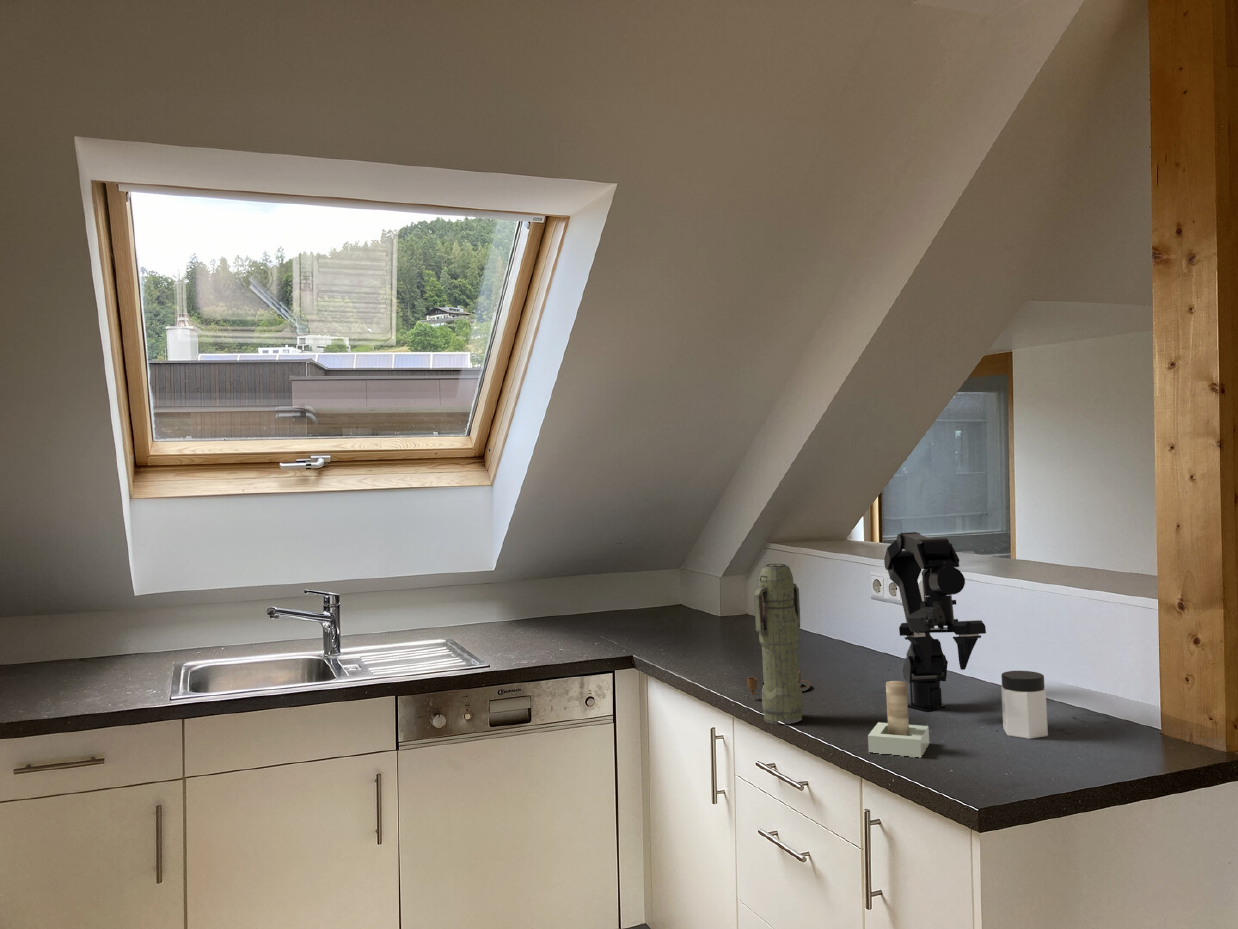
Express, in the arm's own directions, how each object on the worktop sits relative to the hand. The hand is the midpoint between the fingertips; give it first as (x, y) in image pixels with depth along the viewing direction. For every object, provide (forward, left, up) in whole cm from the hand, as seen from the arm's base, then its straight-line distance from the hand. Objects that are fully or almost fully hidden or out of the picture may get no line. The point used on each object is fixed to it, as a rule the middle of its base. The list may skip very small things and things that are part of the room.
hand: (945, 669), depth 205 cm
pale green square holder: (+6, -20, -12) cm, 24 cm away
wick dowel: (+6, -20, -12) cm, 24 cm away
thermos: (-26, -24, -12) cm, 37 cm away
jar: (+13, +8, -12) cm, 20 cm away
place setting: (-49, -9, -13) cm, 51 cm away
